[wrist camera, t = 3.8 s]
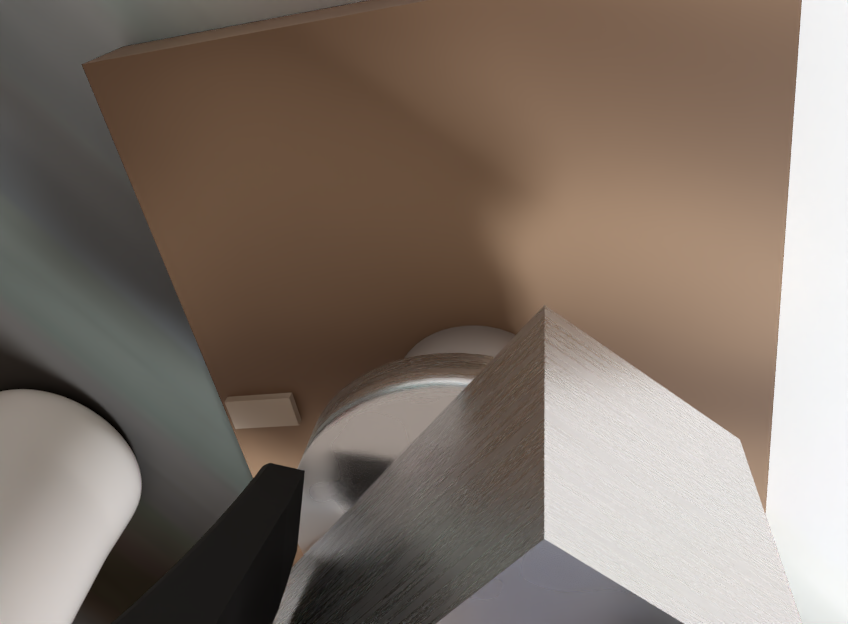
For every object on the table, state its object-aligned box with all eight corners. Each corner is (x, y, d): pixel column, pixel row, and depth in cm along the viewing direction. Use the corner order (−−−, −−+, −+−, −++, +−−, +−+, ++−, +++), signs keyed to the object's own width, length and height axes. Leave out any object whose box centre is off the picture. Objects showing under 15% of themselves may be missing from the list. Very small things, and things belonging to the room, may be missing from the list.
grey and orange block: (777, 426, 12) (919, 769, 7) (448, 663, 16) (413, 959, 12) (480, 218, 10) (432, 475, 6) (217, 538, 15) (83, 814, 11)
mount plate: (743, 580, 20) (784, 728, 16) (327, 581, 22) (288, 710, 19) (777, -77, 12) (873, -53, 8) (123, 46, 14) (-9, 103, 11)
